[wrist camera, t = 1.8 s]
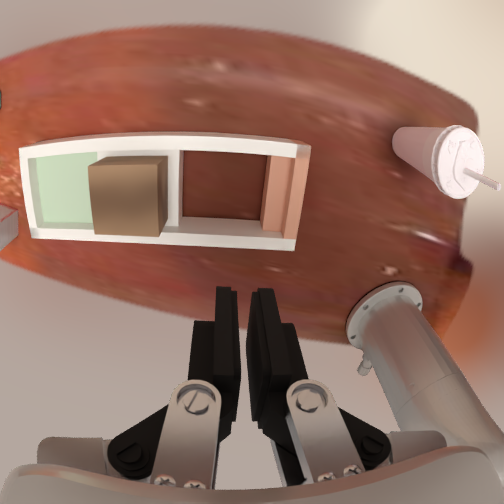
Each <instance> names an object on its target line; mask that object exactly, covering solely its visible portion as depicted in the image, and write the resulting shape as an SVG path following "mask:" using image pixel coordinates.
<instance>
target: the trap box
mask: <svg viewBox="0 0 504 504" xmlns="http://www.w3.org/2000/svg"><path fill="white" fill-rule="evenodd" d="M184 150H199V151H221V152H237V153H250V154H262V155H267V164H266V172H265V181H264V190H263V198H262V207H261V215H260V221H257V220H241V219H223V218H204V217H182V195H183V157H184ZM310 152H311V146H310V145H308V144H306V143H304V142H302V141H300V140H293V139H285V138H276V137H267V136H256V135H245V134H231V133H213V132H127V133H110V134H97V135H86V136H76V137H67V138H59V139H52V140H45V141H40V142H36V143H33V144H30V145H27V146H24V147H22V148H19V156H20V168H21V177H22V186H23V193H24V200H25V206H26V212H27V217H28V222H29V227H30V232H31V236H32V238H40V239H63V240H85V241H106V242H127V243H148V244H169V245H189V246H209V247H229V248H248V249H268V250H287V251H294V249H295V243H296V238H297V232H298V226H299V221H300V215H301V209H302V203H303V197H304V191H305V185H306V179H307V172H308V166H309V159H310ZM110 156H168V220H167V222H166V224H165V226H164V228H163V230H162V232H161V234H160V236H159V237H144V236H121V235H96V234H94V227H93V220H92V211H91V202H90V192H89V180H88V166H89V165H91V164H93V163H95V162H97V161H99V160H101V159H103V158H105V157H110Z"/></svg>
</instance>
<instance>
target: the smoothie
mask: <svg viewBox="0 0 504 504" xmlns="http://www.w3.org/2000/svg"><path fill="white" fill-rule="evenodd" d="M392 147H393V150H394V152H395V154H396V155H397V156H398V157H400V158H401V159H403V160H404V161H406V162H407V163H409V164H410V165H411V166H413V167H414V168H416V169H417V170H419V171H420V172H421V173H423V174H424V175H425V176H427V177H428V178H429V179H431V180H432V181H433V182H435V184H436V185H437V187H438V188H439V190H440V191H441V192H443V193H444V194H446V195H449V196H450V197H452V198H455V199H461V198H465V197H467V196H468V195H470V194H471V193H472V192H473V191H474V190H475V188H476V187H477V186H478V184H479V182H482V183H484V184H486V185H488V186H490V187H492V188H494V189H496V190H498V191H499V190H500V189H501V185H500V184H499V183H497V182H495V181H493V180H491V179H489V178H487V177H485V176H483V175H482V174H483V170H484V152H483V147H482V144H481V142H480V140H479V138H478V136H477V135H476V134H475V133H474V132H473V131H472V130H470V129H468V128H464V127H462V126H460V125H453V126H450V127H447V128H436V127H401V128H399V129H398V130H397V131H396V132H395V133H394V135H393V139H392Z"/></svg>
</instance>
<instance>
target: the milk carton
mask: <svg viewBox="0 0 504 504" xmlns="http://www.w3.org/2000/svg"><path fill="white" fill-rule="evenodd" d="M17 236H18V209H15V208H12V207H10V206H7V205H4V204H2V203H0V251H1V250H2V249H3V248H4V247H5V246H6V245H7V244H9V243H10V242H11V241H12V240H13V239H14V238H15V237H17Z"/></svg>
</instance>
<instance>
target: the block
mask: <svg viewBox="0 0 504 504" xmlns="http://www.w3.org/2000/svg"><path fill="white" fill-rule="evenodd" d="M88 180H89V192H90V202H91V211H92V220H93V227H94V234H96V235H121V236H144V237H159V236H160V234H161V232H162V230H163V228H164V226H165V224H166V222H167V220H168V156H110V157H105V158H103V159H101V160H99V161H97V162H95V163H93V164H91V165H89V166H88Z"/></svg>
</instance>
